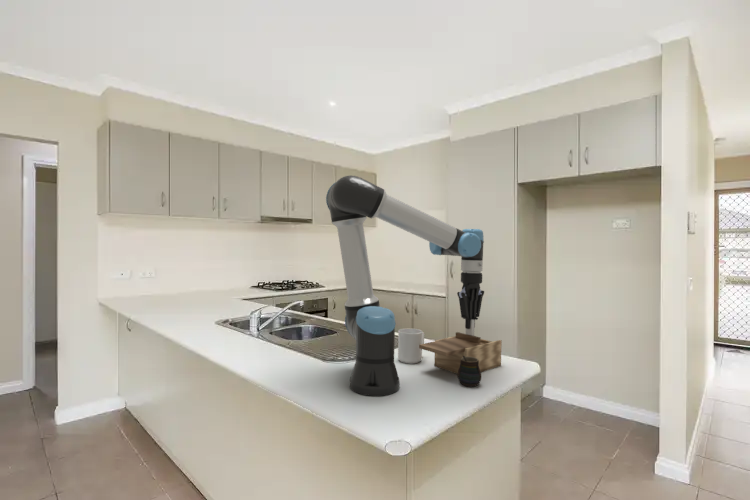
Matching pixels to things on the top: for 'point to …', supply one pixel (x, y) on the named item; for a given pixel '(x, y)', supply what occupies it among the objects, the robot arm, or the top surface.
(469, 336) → the lid
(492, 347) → the wooden box
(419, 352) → the mug
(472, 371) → the mate gourd
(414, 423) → the top surface
